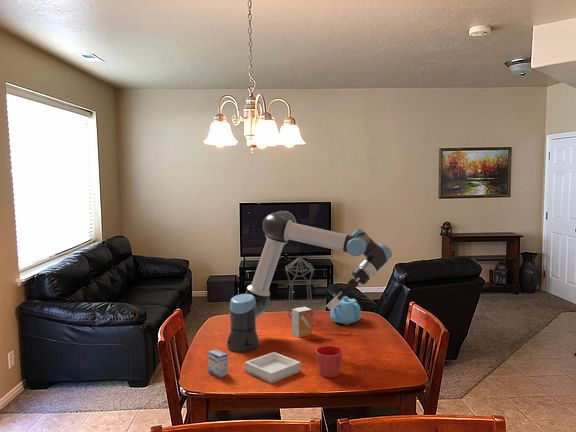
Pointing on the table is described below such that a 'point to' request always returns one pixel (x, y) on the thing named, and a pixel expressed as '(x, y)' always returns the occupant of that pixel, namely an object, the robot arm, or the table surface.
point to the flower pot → (329, 360)
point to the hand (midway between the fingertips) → (330, 306)
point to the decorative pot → (346, 311)
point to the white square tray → (272, 367)
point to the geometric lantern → (300, 280)
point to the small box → (302, 321)
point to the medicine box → (218, 363)
